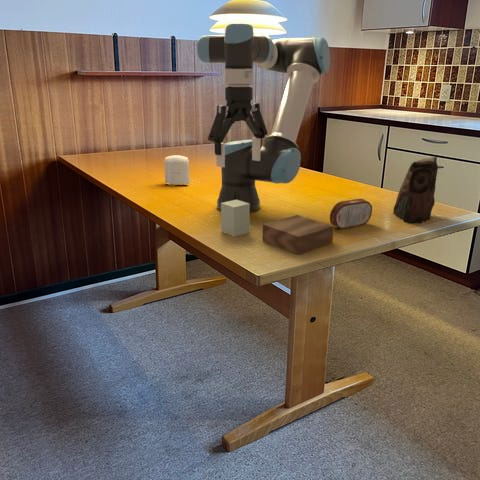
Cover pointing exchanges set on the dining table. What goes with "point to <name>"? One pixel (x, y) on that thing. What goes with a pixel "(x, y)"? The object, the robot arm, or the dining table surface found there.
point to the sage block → (235, 217)
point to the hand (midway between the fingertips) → (239, 163)
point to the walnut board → (298, 234)
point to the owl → (417, 192)
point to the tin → (350, 213)
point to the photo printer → (176, 170)
